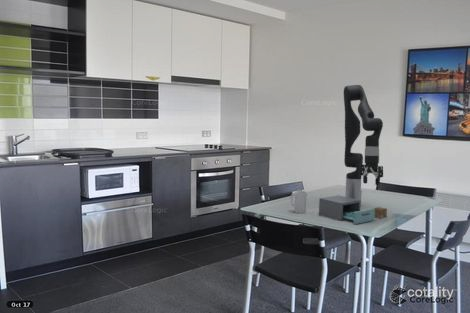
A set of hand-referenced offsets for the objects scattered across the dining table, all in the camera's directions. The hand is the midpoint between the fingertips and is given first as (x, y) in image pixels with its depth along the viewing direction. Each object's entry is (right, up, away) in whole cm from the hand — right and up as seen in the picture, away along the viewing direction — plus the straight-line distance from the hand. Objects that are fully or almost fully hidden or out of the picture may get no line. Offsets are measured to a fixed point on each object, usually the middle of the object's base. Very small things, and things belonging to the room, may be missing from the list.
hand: (371, 184), depth 233 cm
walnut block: (+7, -19, +6) cm, 21 cm away
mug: (-38, -17, +16) cm, 45 cm away
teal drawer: (-10, -19, -1) cm, 21 cm away
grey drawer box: (-16, -18, +7) cm, 25 cm away
